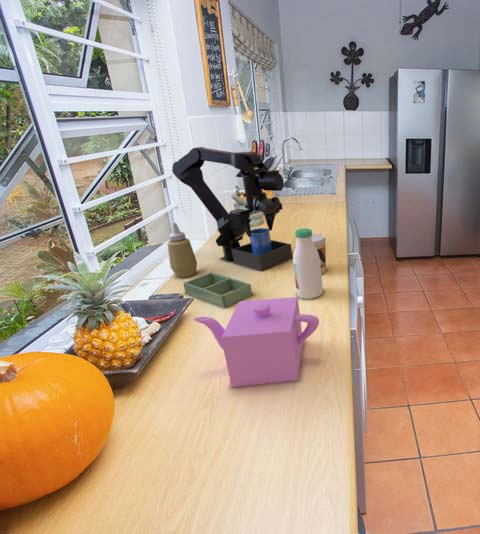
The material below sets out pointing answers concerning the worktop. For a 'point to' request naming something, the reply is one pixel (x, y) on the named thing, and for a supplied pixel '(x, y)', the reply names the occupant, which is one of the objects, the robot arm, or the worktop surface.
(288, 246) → the black square tray
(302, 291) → the milk bottle
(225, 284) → the divided tray
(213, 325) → the teapot
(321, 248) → the coffee cup
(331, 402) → the worktop surface
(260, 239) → the blue cup
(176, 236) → the squeeze bottle
